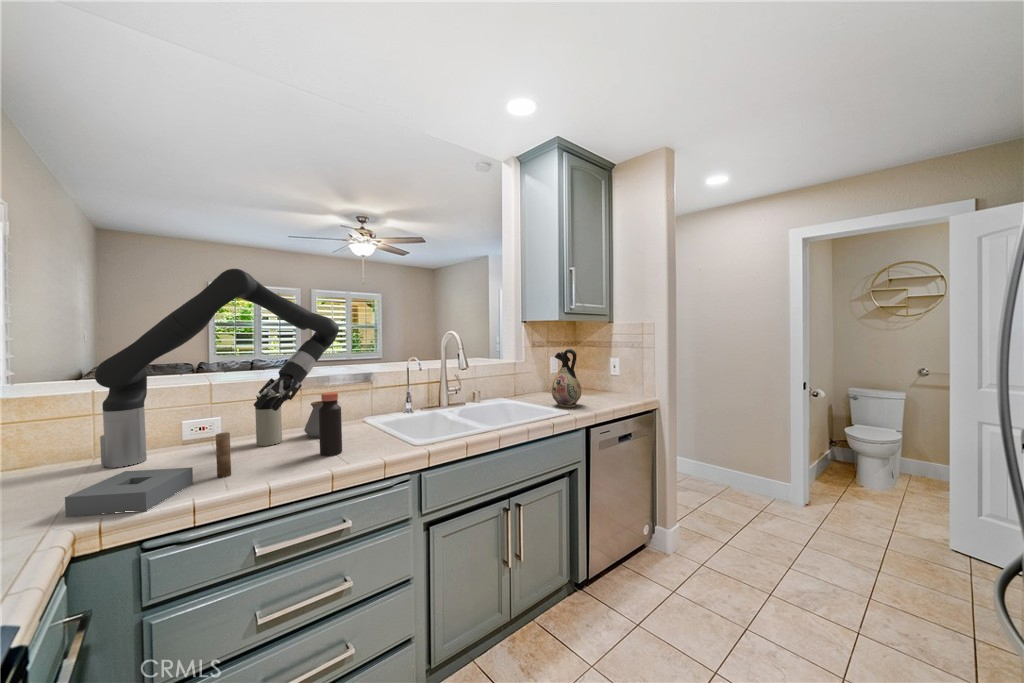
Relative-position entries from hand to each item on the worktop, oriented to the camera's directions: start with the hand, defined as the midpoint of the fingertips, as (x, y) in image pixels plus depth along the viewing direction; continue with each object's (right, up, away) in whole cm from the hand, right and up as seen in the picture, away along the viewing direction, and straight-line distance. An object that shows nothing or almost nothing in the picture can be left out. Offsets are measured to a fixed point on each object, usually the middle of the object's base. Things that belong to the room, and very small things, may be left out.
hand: (264, 408), depth 121 cm
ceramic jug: (+106, -13, +83) cm, 135 cm away
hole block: (-16, -18, -25) cm, 35 cm away
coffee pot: (+5, -16, +29) cm, 34 cm away
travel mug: (-12, -17, +22) cm, 30 cm away
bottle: (+16, -17, +9) cm, 25 cm away
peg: (-5, -18, -10) cm, 21 cm away
